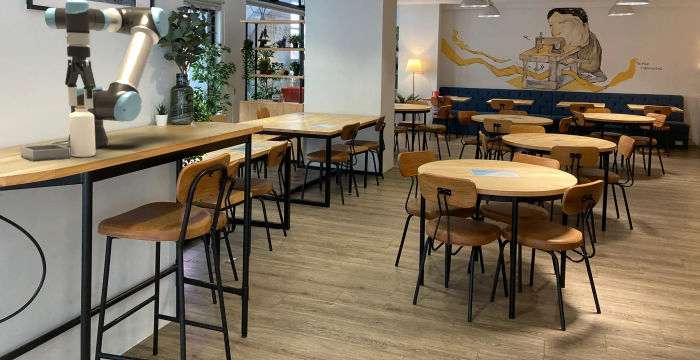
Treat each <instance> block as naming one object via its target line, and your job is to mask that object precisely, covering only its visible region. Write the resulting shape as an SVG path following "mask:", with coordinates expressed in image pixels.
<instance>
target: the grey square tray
mask: <svg viewBox="0 0 700 360" xmlns="http://www.w3.org/2000/svg"><path fill="white" fill-rule="evenodd" d="M20 156H21V157H22V158H24V159H26V160H29V161H32V162H44V161H56V160H67V159H70V158H71V157H70V156H71V151H70V148H69V147H65V146H62V145H59V144H43V145H42V144H40V145H27V146H20Z"/></svg>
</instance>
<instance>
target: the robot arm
mask: <svg viewBox="0 0 700 360" xmlns="http://www.w3.org/2000/svg"><path fill="white" fill-rule="evenodd" d="M168 19H169V18H168V15H167V13H166V11H164V9H163V8H161V7H154V6H152V7H145V6H144V7H142V6H123V7H115V8H113V7H112V8H111V7H110V8H106V9H100V8H91V7H90V4H89V1H87V0H66V1H65V7H48V8H47V9H46V10H45V13H44V21H45V24H46V25H47V27H48V28H49V29H52V30H53V29H54V30H66V34H65V38H66V44H67V47H66V56H67V57H69V58H71V59H67V69H66V75H65V80H64V81H65V82H64V85H65V86H66V87H67V93H68V106H69V107H70V114H71V113H73V112H75V106H78V105H84V107H85V109H87V108H88V110H87V111H88V112H90V113H92V114H93V115H94V124H95V148H102V147H103V148H105V147H108V146H109V144H110V143H109V138H108V135H107V132H106V130H105V126H104V121H109V122H110V121H112V122H121V123H123V122H131V121H134V120H135V119H137V118H138V116H139V115H140V113H141V111H142V102H143V101H142V97H141V95H140V92H139V90H138V87H139V85H140V82H141V79H142V77H143V74H144V71H145V68H146V66H147V63H148V60H149V57H150V54H151V52H152V48H153V46H154V45H157V44H158V42H159V40H160V38H161V37H162V38H163V37H166V36H167V35H168V34H169V29H170V23H169V20H168ZM90 31H96V32H103V31H107V32H108V33H116V34H123V35H129V36H132V37H131V39H130V43H129V45H128V47H127V50H126V52H125V56H124V58H123V60H122V63H121V65H120V68H119V71H118V73H117V76H116V79H115V81H112V82H110V83H109V86H108V87H107V88H108V89H107V90H103V88H102V86H97V85H96V81H95V78H94V77H95V76H94V73H93V69H92V62H91V61H92V60H90V59H88V58H90V57H91V55H92V54H91V48H90V46H91V33H90ZM87 59H88V60H87ZM79 76H80V78H81V81H82V84H83V87H78V86H77V82H78V80H79ZM67 146H68V147H70V133H69V134H68V138H67Z"/></svg>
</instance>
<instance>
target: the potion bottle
mask: <svg viewBox="0 0 700 360" xmlns="http://www.w3.org/2000/svg"><path fill="white" fill-rule="evenodd" d="M87 110H88V108H87V109H85V107H84V105H78V106H75V112H73V113H71V112H70V113H69V115H68V122H69V124H68V125H69V126H68V127H69V134H70V146H69V147H70V156H72V157H73V158H90V157H94V156H96V150H97V149H96V147H95V124H94V115H93V114H92V113H90V112H88V111H87Z"/></svg>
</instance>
